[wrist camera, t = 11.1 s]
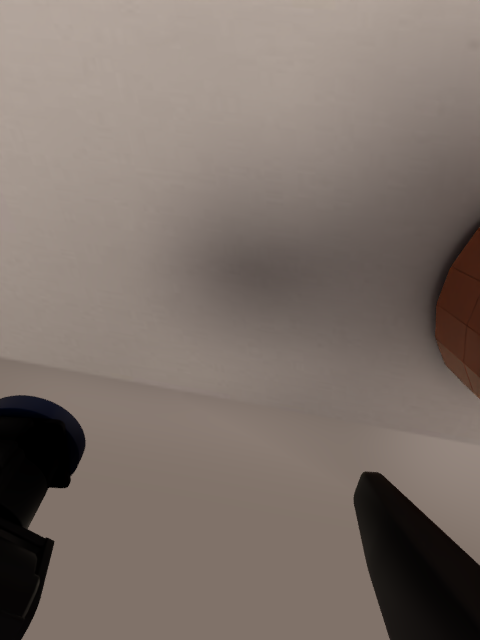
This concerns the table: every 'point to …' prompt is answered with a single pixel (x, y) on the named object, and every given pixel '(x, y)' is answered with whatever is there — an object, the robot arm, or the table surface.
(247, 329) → the table surface
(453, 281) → the bowl
